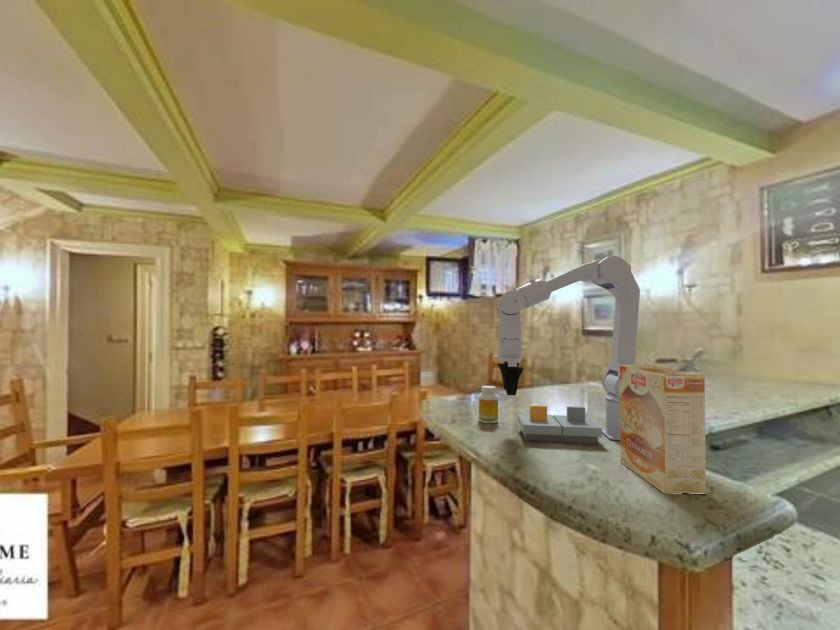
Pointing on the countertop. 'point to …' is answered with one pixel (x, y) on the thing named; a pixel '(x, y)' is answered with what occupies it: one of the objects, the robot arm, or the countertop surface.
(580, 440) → the parts tub
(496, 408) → the supplement bottle
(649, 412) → the coffeecake box
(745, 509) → the countertop surface
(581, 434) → the lid segment
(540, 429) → the tabbed lid segment
